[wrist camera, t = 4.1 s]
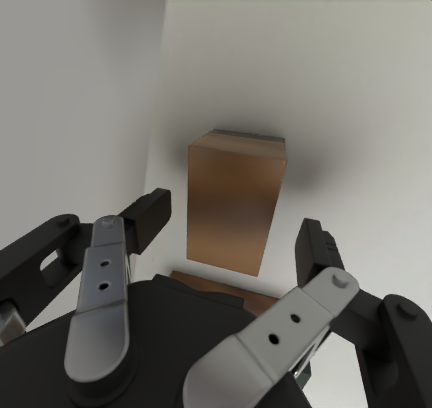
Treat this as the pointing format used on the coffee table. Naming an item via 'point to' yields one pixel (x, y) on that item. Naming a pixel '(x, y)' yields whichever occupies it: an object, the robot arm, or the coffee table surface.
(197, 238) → the eraser
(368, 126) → the coffee table surface
